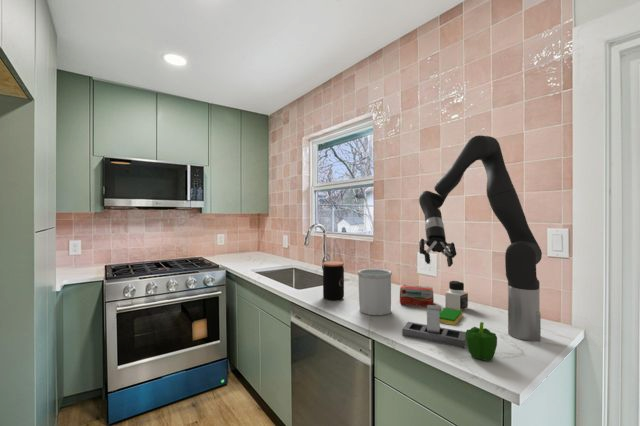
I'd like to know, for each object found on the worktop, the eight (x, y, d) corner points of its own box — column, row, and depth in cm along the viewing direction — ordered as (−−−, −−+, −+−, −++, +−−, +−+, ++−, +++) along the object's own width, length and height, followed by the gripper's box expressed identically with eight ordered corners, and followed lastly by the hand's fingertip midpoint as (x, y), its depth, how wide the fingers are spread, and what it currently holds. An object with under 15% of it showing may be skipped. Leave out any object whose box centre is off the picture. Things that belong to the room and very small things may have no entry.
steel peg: (440, 334, 107) (440, 306, 106) (439, 338, 103) (439, 309, 103) (427, 332, 108) (427, 304, 108) (426, 336, 104) (426, 308, 104)
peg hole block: (466, 339, 104) (466, 332, 104) (464, 348, 97) (464, 340, 97) (408, 327, 114) (408, 321, 114) (402, 335, 107) (402, 328, 107)
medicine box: (432, 302, 146) (432, 286, 146) (433, 307, 138) (433, 290, 138) (400, 300, 150) (400, 284, 150) (399, 305, 143) (399, 288, 143)
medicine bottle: (460, 311, 132) (460, 284, 132) (445, 307, 138) (444, 281, 138) (468, 308, 137) (468, 281, 137) (452, 304, 142) (452, 278, 142)
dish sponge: (435, 322, 121) (435, 316, 121) (444, 313, 132) (444, 307, 132) (454, 326, 116) (454, 320, 116) (462, 316, 128) (462, 310, 128)
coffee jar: (343, 301, 148) (342, 264, 148) (321, 300, 149) (321, 264, 149) (344, 295, 158) (344, 261, 158) (324, 294, 160) (324, 260, 160)
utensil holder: (351, 308, 137) (351, 269, 137) (377, 303, 144) (377, 267, 144) (371, 318, 124) (371, 276, 124) (399, 312, 131) (398, 272, 131)
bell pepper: (489, 367, 85) (489, 331, 85) (460, 356, 92) (460, 323, 92) (502, 358, 90) (502, 325, 90) (474, 348, 97) (474, 317, 97)
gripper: (421, 223, 126) (424, 258, 117) (455, 227, 126) (461, 262, 117) (415, 232, 133) (418, 266, 123) (447, 236, 132) (453, 270, 123)
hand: (439, 264), depth 120 cm, fingers open, 8 cm apart
